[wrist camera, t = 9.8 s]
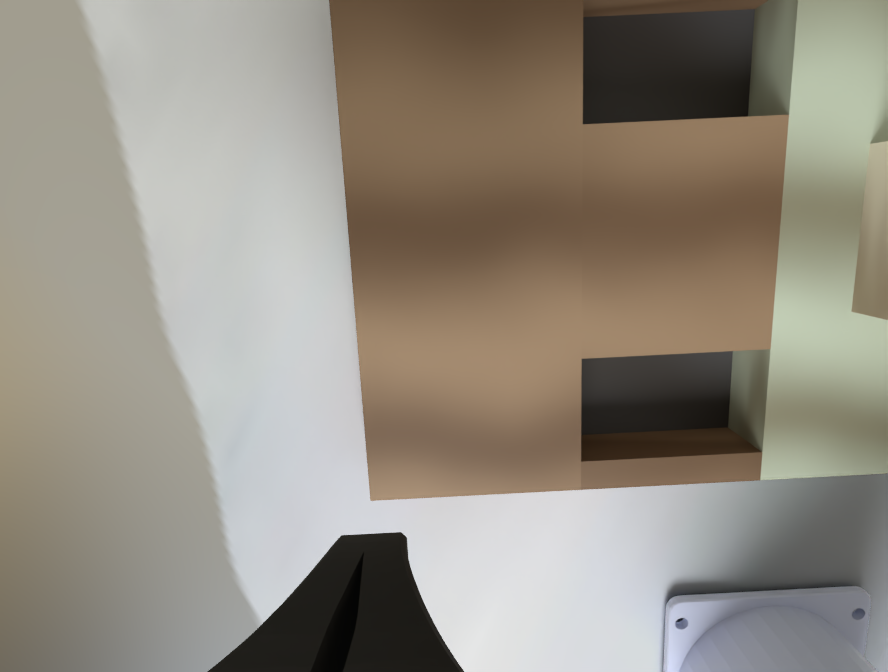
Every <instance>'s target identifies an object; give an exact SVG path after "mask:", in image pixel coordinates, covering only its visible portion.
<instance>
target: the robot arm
mask: <svg viewBox="0 0 888 672" xmlns="http://www.w3.org/2000/svg"><path fill="white" fill-rule="evenodd" d="M871 602H872V601H871V596H870V595H869V593H867V592H866V591H865V590H864V589H863V588H861V587H859V586H846V587H827V588H809V589H790V590H772V591H753V592H735V593H716V594H698V595H679V596H675V597H673V598H671V599H670V600H669V601H668V602H667V605H666V617H665V641H664V664H663V672H878V671H877V670H876V669H875V668H874V667H873V666H872V665H871V664H870V663H869V662H868V661H867V660H866V659H865V658H864V655H865V648H866V640H867V632H868V625H869V617H870V610H871ZM855 609H857V610H856V611H854V610H855ZM853 611H854V612H853ZM680 618H683V620H682V621H680V622H676V621H677V620H678V619H680ZM208 672H464V671H463V669H462V668H461V667H460V665H459V664H458V662H457V661H456V659H455V658H454V656H453V655H452V653H451V652H450V650H449V649H448V647H447V645H446V644H445V642H444V641H443V639H442V637H441V635H440V634H439V632H438V630H437V628H436V626H435V625H434V623H433V621H432V619H431V617H430V615H429V613H428V611H427V609H426V607H425V604H424V602H423V600H422V598H421V595H420V593H419V590H418V588H417V585H416V582H415V580H414V577H413V574H412V571H411V568H410V564H409V560H408V549H407V537H406V536H405V535H403V534H402V533H401V532H399V533H380V534H361V535H342V536H341V537H340V538H339V539H338V540H337V541H336V542H335V543H334V545H333V546H332V547H331V548H330V549H329V551H328V552H327V553H326V554H325V555H324V557H323V558H322V559H321V560H320V562H319V563H318V564H317V565H316V566H315V568H314V569H313V570H312V571H311V572H310V573H309V575H308V576H307V577H306V578H305V579H304V580H303V581H302V583H301V584H300V585H299V586H298V587H297V588H296V589H295V590H294V592H293V593H292V594H291V595H290V596H289V597H288V598H287V599H286V600H285V602H284V603H283V604H282V605H281V606H280V607H279V608H278V609H277V610H276V611H275V612H274V613H273V614H272V615H271V616H270V617H269V618H268V619H267V620H266V621H265V622H264V623H263V624H262V625H261V626H260V627H259V628H258V629H257V630H256V631H255V632H254V633H253V634H252V635H251V636H249V637H248V639H246V640H245V641H244V642H243V643H242V644H241V645H239V646H238V647H237V648H236V649H235V650H233V651H232V652H231V653H230V654H229V655H227V656H226V657H225V658H224V659H223V660H221V661H220V662H219V663H218V664H217V665H216V666H214V667H213V668H212V669H210V670H209V671H208Z"/></svg>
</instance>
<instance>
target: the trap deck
mask: <svg viewBox="0 0 888 672" xmlns="http://www.w3.org/2000/svg"><path fill="white" fill-rule="evenodd" d="M329 3H330V15H331V27H332V39H333V52H334V64H335V76H336V88H337V100H338V112H339V124H340V136H341V148H342V161H343V173H344V185H345V197H346V209H347V221H348V233H349V245H350V257H351V270H352V282H353V294H354V306H355V318H356V330H357V342H358V354H359V366H360V378H361V391H362V403H363V415H364V427H365V439H366V451H367V463H368V475H369V487H370V500H371V501H374V500H393V499H412V498H431V497H450V496H469V495H488V494H507V493H526V492H545V491H564V490H583V489H602V488H621V487H640V486H659V485H678V484H697V483H716V482H735V481H754V480H773V479H792V478H811V477H830V476H849V475H868V474H887V473H888V320H885V319H881V318H876V317H872V316H868V315H863V314H859V313H855V312H851V310H852V301H853V292H854V283H855V274H856V265H857V256H858V247H859V238H860V229H861V220H862V211H863V202H864V193H865V184H866V175H867V166H868V157H869V148H870V144H873V143H879V142H885V141H888V0H329Z"/></svg>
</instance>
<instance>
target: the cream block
mask: <svg viewBox="0 0 888 672" xmlns="http://www.w3.org/2000/svg"><path fill="white" fill-rule="evenodd" d="M851 312H855V313H859V314H863V315H868V316H872V317H876V318H881V319H885V320H888V141H885V142H879V143H873V144H870V148H869V157H868V166H867V175H866V184H865V193H864V202H863V211H862V220H861V229H860V238H859V247H858V256H857V265H856V274H855V283H854V292H853V301H852V310H851Z"/></svg>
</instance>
